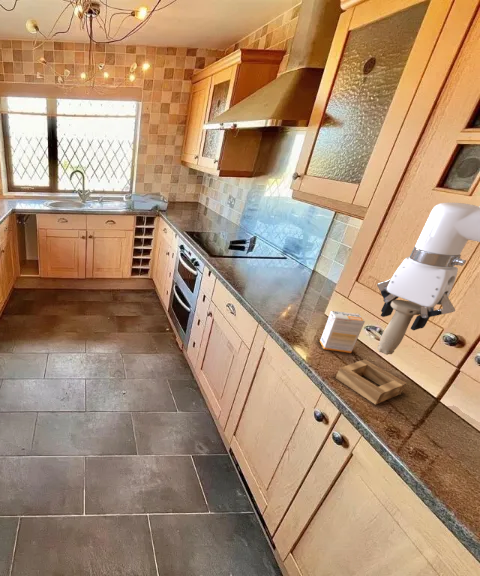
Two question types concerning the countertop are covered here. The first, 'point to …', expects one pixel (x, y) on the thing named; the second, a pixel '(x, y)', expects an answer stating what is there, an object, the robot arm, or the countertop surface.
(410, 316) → the handle
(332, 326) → the supplement box
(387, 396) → the socket block
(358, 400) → the countertop surface
